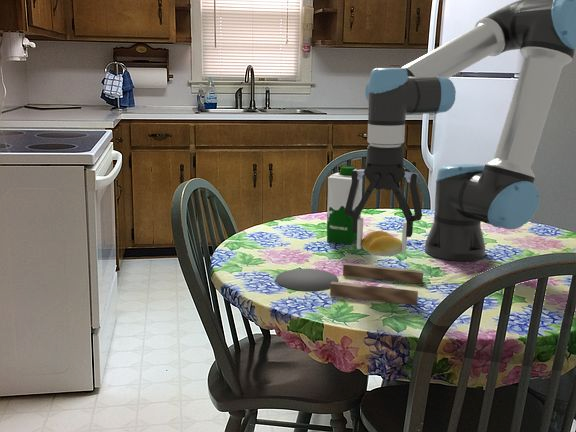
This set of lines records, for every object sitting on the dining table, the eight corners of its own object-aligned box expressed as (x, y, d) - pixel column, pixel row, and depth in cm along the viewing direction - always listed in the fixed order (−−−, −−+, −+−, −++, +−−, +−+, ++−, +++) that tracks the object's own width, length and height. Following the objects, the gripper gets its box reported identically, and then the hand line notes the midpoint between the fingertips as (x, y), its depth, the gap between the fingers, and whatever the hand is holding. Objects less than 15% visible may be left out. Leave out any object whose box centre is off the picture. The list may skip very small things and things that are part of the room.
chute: (422, 281, 143) (423, 271, 142) (416, 305, 129) (417, 293, 128) (344, 272, 148) (344, 262, 147) (330, 294, 134) (330, 283, 133)
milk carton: (362, 237, 178) (365, 167, 173) (353, 246, 169) (356, 172, 165) (332, 234, 181) (335, 164, 176) (322, 242, 173) (324, 169, 168)
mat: (343, 273, 147) (343, 272, 147) (330, 294, 134) (330, 292, 134) (286, 267, 151) (286, 266, 151) (267, 286, 138) (267, 285, 138)
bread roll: (375, 259, 131) (376, 240, 130) (356, 247, 139) (356, 229, 138) (410, 255, 134) (411, 236, 133) (389, 243, 142) (390, 226, 141)
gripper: (440, 144, 131) (434, 248, 137) (338, 140, 137) (336, 240, 143) (438, 149, 125) (431, 258, 130) (330, 144, 130) (328, 249, 136)
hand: (381, 249), depth 137 cm, fingers closed on bread roll, 9 cm apart
